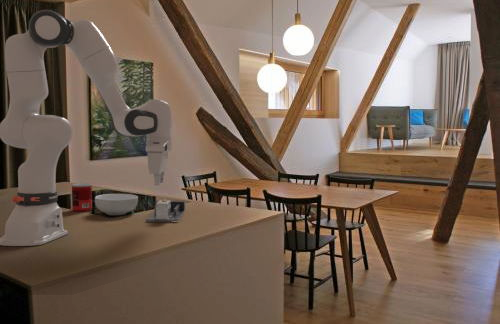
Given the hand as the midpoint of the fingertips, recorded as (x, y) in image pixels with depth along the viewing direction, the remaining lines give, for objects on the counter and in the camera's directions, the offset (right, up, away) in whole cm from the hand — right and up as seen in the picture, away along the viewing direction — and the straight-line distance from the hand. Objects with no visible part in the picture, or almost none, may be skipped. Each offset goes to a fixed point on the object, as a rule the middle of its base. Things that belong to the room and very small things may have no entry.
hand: (159, 184), depth 168 cm
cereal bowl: (-21, -13, +22) cm, 33 cm away
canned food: (-37, -13, +27) cm, 48 cm away
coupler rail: (0, -14, +17) cm, 22 cm away
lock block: (0, -13, +10) cm, 17 cm away
